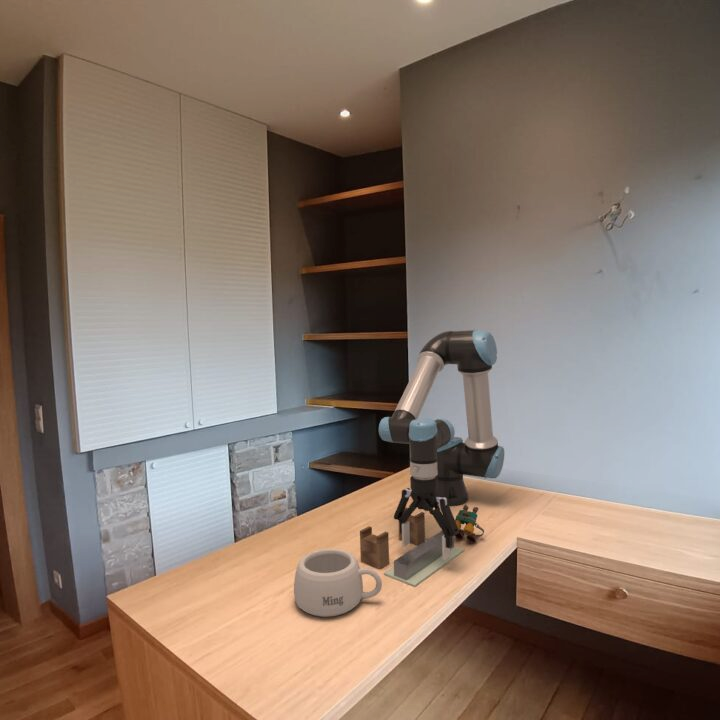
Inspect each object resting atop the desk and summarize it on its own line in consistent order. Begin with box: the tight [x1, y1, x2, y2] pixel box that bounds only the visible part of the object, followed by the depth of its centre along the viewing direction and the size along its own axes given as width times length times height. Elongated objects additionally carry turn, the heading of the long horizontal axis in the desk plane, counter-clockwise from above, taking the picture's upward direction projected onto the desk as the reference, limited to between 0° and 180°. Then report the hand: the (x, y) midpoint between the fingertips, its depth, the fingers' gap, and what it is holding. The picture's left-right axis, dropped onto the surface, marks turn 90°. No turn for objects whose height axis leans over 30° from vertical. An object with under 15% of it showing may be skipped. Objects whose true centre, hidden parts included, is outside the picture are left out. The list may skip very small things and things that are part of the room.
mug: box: [293, 548, 383, 618], centre depth 116 cm, size 21×17×10 cm
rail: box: [393, 530, 455, 581], centre depth 134 cm, size 4×24×4 cm, turn 139°
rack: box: [359, 507, 426, 570], centre depth 141 cm, size 7×22×9 cm, turn 139°
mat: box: [383, 545, 465, 588], centre depth 134 cm, size 10×25×1 cm, turn 139°
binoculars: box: [454, 504, 485, 544], centre depth 148 cm, size 9×9×10 cm
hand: (425, 551), depth 134 cm, fingers open, 13 cm apart
